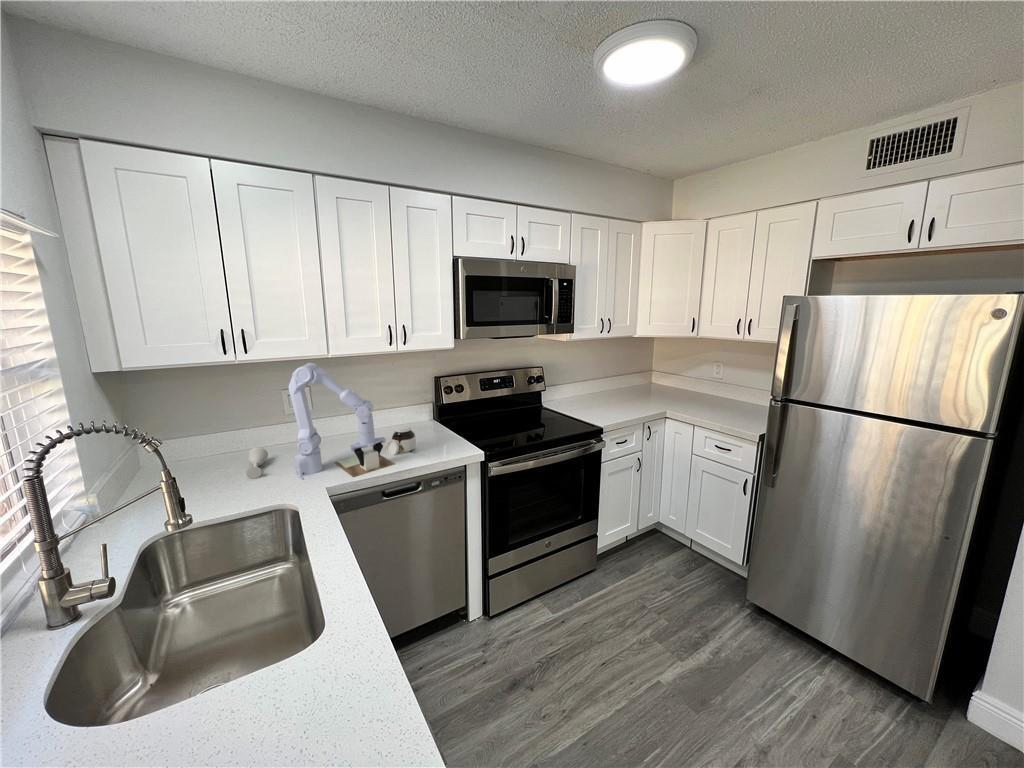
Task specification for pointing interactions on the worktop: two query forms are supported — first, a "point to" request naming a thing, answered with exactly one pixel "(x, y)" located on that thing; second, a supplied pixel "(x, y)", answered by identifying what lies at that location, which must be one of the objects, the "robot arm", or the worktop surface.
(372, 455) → the rounded beige cube
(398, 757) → the worktop surface
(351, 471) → the walnut board
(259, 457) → the chalice
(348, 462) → the sage pad
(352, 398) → the robot arm
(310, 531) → the worktop surface
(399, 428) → the spread jar
